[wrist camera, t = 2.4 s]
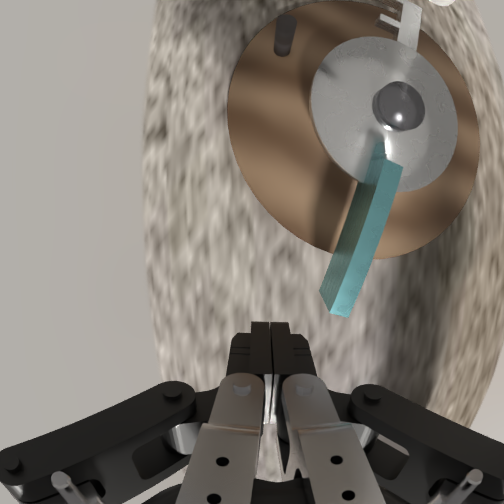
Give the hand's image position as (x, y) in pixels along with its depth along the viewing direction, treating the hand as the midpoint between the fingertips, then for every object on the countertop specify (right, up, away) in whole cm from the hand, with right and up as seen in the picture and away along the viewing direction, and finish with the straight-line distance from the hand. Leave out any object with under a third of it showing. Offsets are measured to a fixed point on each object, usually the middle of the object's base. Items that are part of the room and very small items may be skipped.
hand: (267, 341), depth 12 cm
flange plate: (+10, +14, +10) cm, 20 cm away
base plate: (+11, +17, +14) cm, 25 cm away
